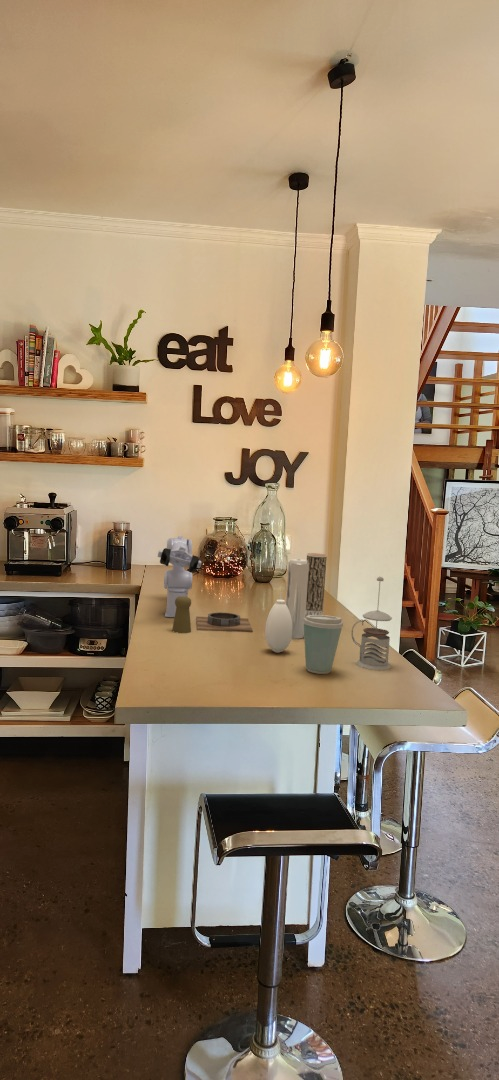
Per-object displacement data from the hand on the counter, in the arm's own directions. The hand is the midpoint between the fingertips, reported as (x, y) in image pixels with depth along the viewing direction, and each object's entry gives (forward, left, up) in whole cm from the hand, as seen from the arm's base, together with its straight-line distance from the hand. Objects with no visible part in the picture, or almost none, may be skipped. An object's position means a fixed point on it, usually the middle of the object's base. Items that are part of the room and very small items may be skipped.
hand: (179, 566), depth 219 cm
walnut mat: (-8, +16, -20) cm, 27 cm away
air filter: (+5, +38, -21) cm, 43 cm away
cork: (+3, +2, -21) cm, 21 cm away
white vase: (+25, +30, -21) cm, 44 cm away
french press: (+35, +55, -21) cm, 68 cm away
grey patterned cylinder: (-12, +47, -21) cm, 53 cm away
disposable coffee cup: (+43, +39, -21) cm, 61 cm away
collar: (-8, +16, -20) cm, 27 cm away
